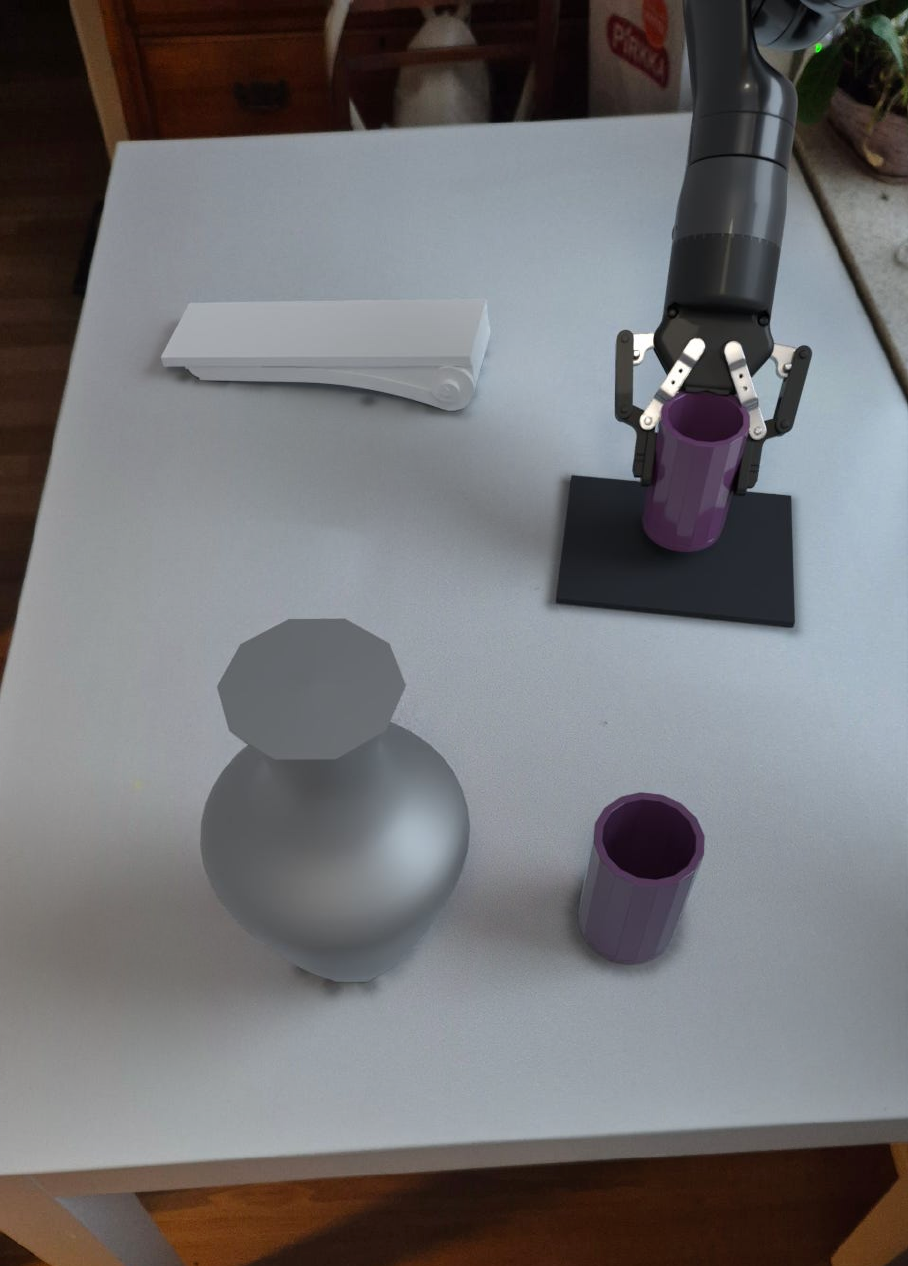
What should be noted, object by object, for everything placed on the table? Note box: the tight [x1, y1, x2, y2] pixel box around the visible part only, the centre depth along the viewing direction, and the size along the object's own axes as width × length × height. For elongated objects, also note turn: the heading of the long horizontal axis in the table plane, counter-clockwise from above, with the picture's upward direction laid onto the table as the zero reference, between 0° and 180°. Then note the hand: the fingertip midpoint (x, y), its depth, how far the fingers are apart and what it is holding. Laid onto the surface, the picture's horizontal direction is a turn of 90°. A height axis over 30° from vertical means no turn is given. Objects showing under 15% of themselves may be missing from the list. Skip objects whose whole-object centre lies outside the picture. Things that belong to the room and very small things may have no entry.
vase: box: [199, 618, 471, 983], centre depth 61 cm, size 14×14×25 cm
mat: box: [555, 474, 796, 628], centre depth 90 cm, size 18×14×1 cm
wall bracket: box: [160, 297, 491, 412], centre depth 102 cm, size 10×7×28 cm
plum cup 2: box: [642, 391, 750, 552], centre depth 84 cm, size 6×6×10 cm
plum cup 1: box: [577, 791, 706, 965], centre depth 68 cm, size 6×6×10 cm
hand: (692, 490), depth 83 cm, fingers closed on plum cup 2, 6 cm apart
